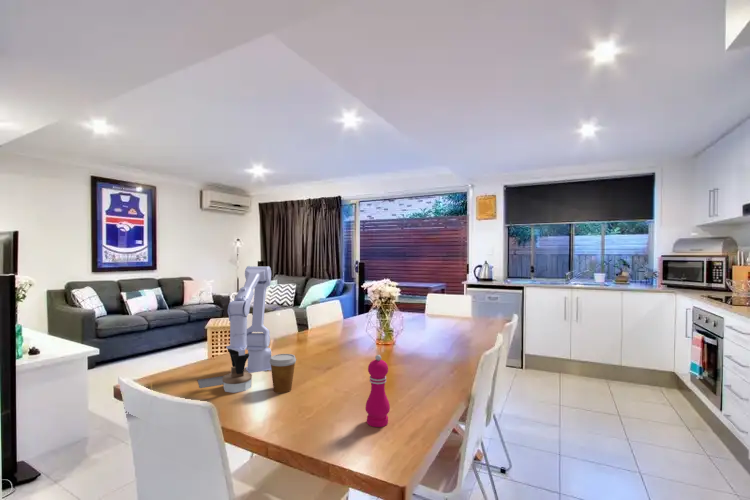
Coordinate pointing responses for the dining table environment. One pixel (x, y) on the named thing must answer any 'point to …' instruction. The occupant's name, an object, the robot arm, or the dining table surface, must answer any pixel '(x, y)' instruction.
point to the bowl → (237, 387)
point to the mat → (210, 382)
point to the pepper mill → (377, 394)
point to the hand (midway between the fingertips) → (237, 370)
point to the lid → (236, 377)
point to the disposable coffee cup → (282, 372)
